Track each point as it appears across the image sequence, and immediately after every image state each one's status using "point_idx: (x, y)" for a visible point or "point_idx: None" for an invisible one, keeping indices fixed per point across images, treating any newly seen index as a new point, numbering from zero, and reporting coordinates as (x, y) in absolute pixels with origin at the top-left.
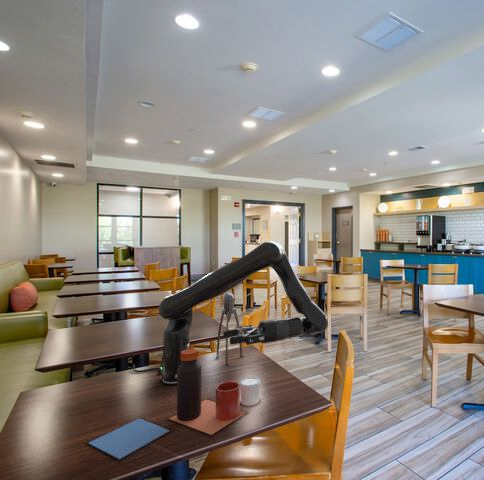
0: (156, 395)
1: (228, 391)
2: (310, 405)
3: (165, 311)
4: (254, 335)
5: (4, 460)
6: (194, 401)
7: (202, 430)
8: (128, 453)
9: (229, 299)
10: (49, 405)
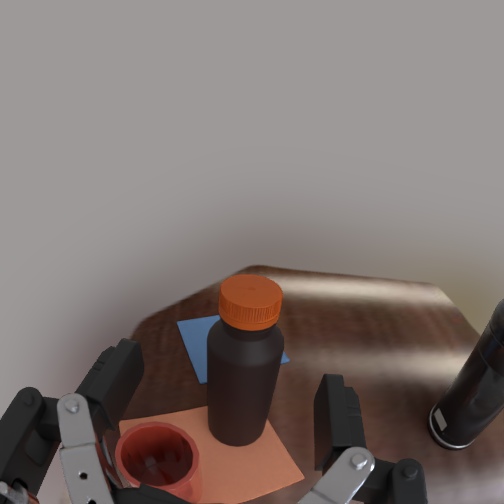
0: (385, 393)
1: (121, 437)
2: None
3: None
4: (2, 439)
5: (270, 269)
6: (207, 401)
7: (148, 419)
8: (179, 329)
9: None
10: (392, 294)
